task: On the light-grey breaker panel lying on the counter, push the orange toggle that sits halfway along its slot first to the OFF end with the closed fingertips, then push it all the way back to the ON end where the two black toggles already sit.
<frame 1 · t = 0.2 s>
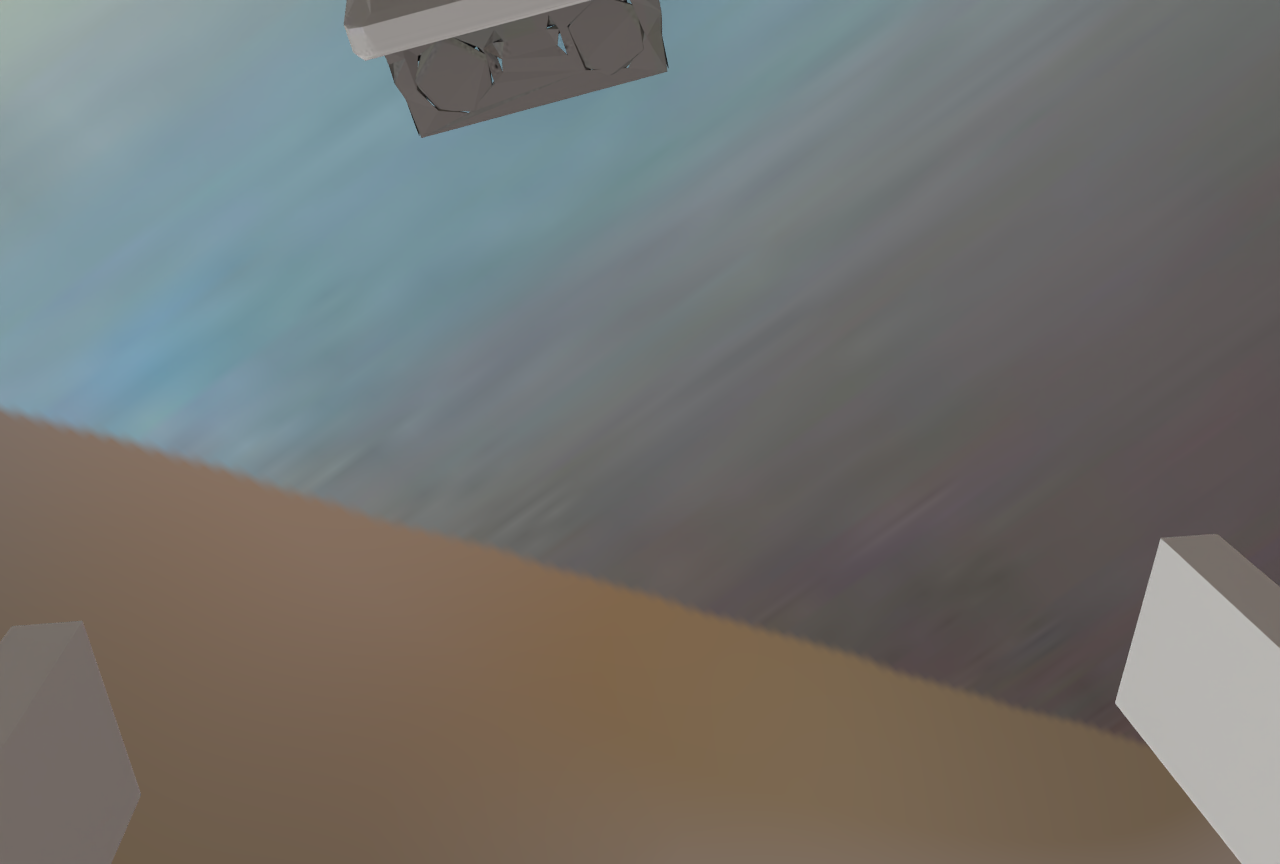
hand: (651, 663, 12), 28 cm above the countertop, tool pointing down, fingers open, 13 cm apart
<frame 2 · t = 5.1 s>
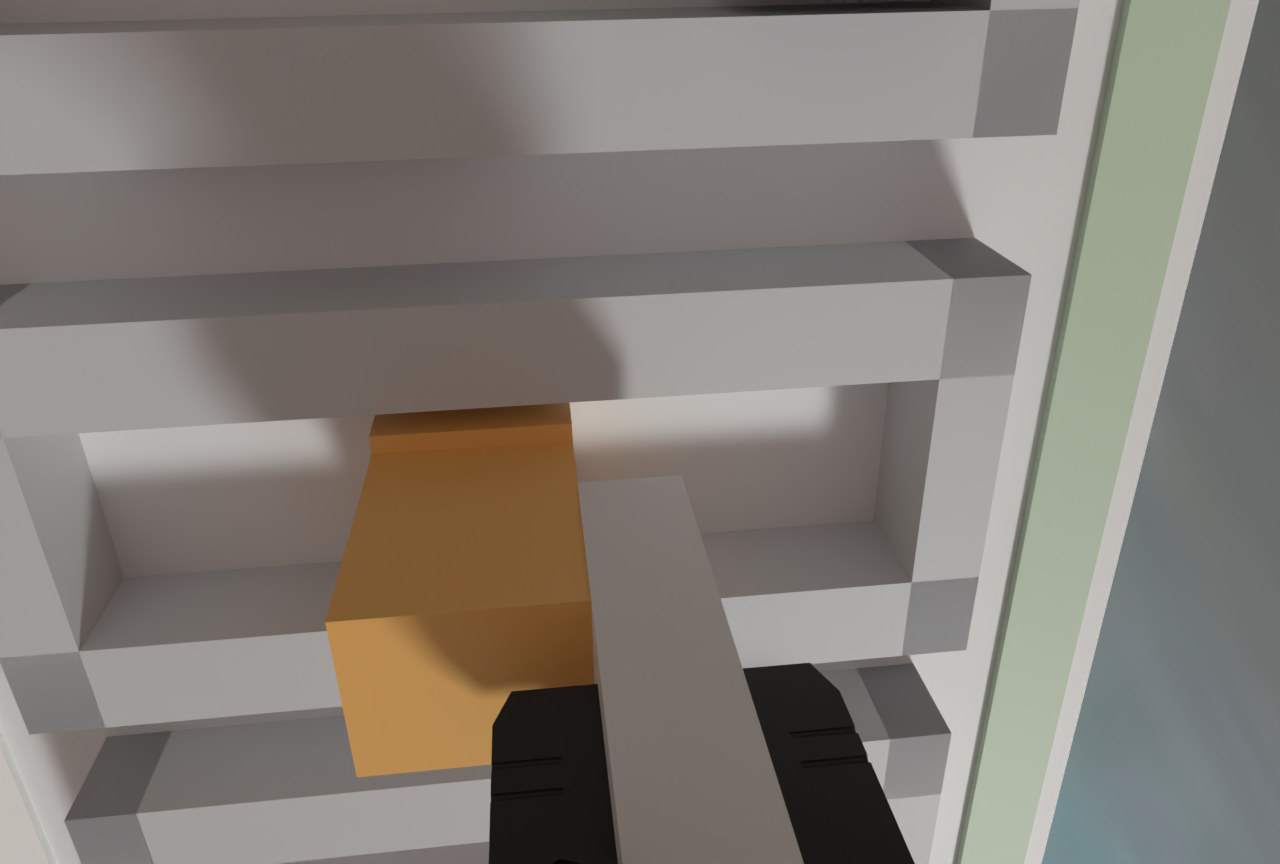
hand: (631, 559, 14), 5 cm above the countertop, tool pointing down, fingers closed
panel: (504, 418, 18), on the countertop
breaker tripped: (477, 555, 14), point 4 cm above the countertop, slide at 4.6 cm, touching gripper
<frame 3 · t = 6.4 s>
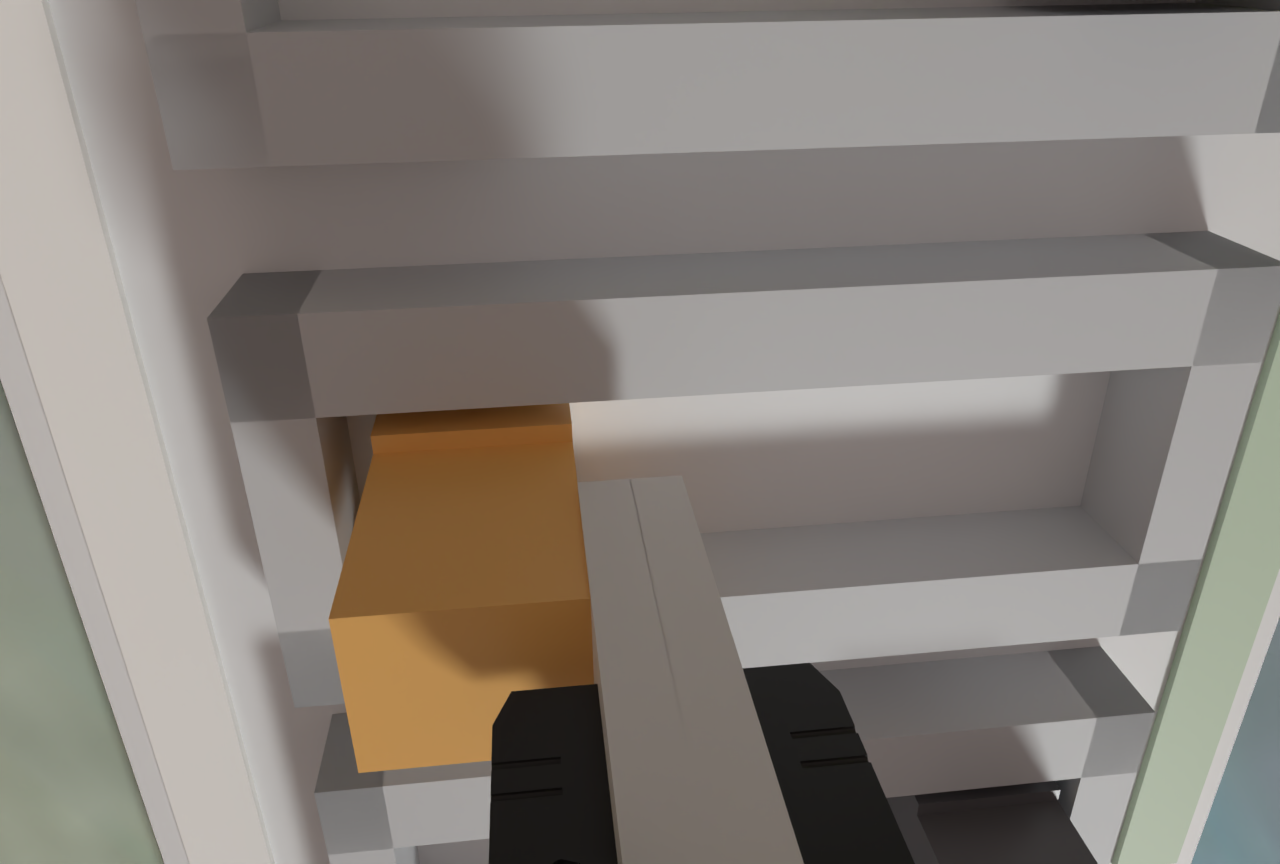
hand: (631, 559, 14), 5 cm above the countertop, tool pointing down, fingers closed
panel: (725, 405, 19), on the countertop
breaker tripped: (478, 554, 14), point 4 cm above the countertop, slide at 0.4 cm, touching gripper
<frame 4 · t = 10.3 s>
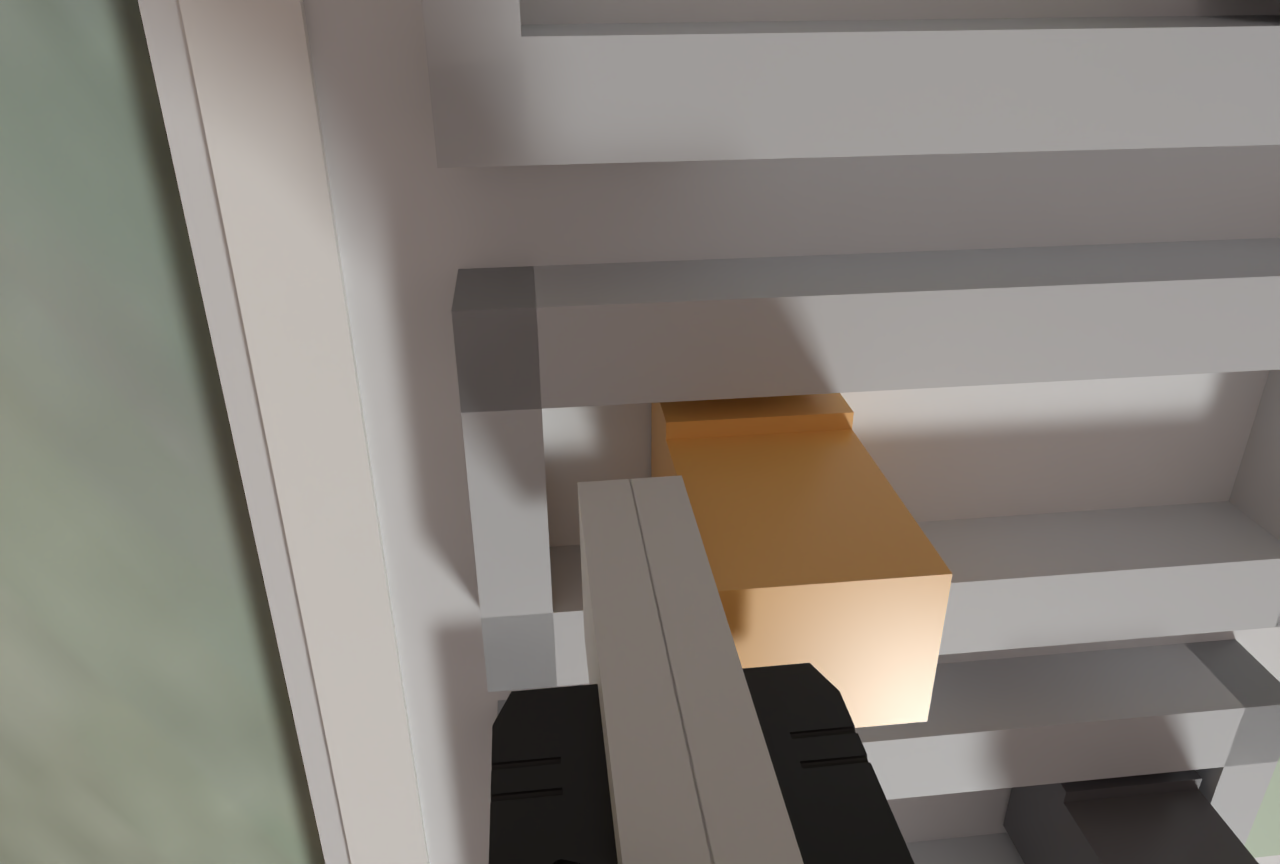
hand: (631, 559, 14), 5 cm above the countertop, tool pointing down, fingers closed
panel: (885, 401, 19), on the countertop
breaker tripped: (772, 536, 15), point 5 cm above the countertop, slide at 1.6 cm, touching gripper
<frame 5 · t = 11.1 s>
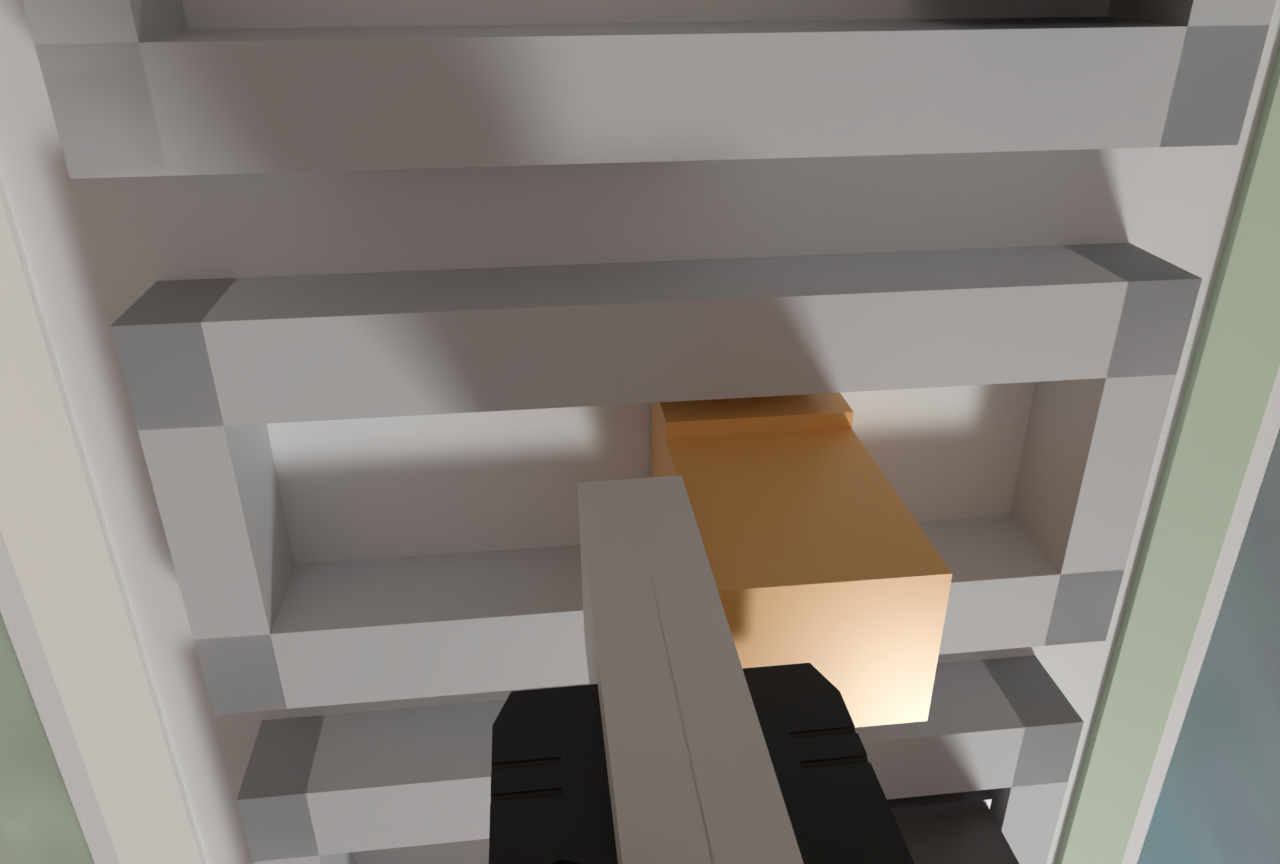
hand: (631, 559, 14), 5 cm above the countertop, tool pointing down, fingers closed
panel: (655, 413, 19), on the countertop
breaker tripped: (772, 536, 15), point 4 cm above the countertop, slide at 6.2 cm, touching gripper
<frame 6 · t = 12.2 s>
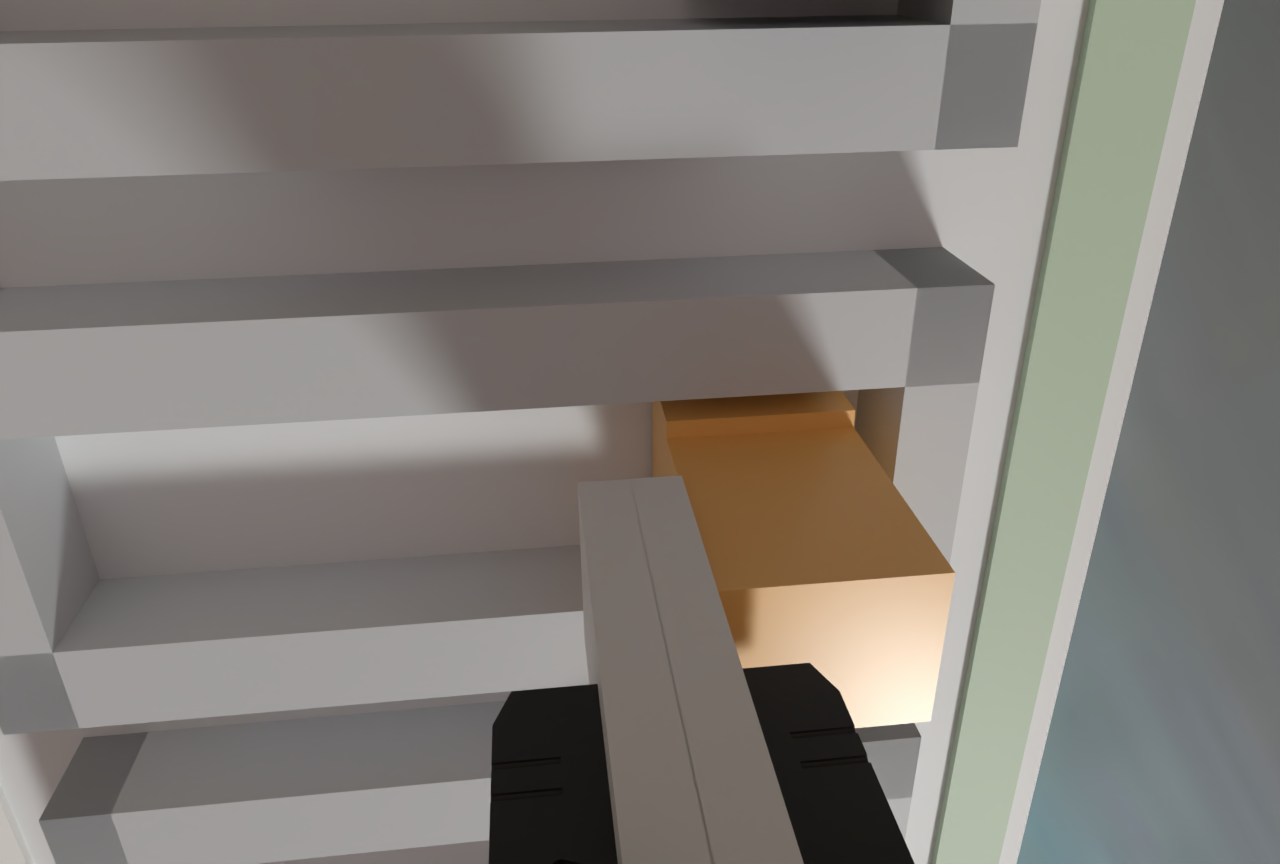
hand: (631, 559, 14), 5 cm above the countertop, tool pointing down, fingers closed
panel: (480, 423, 18), on the countertop
breaker tripped: (773, 535, 15), point 4 cm above the countertop, slide at 9.6 cm, touching gripper
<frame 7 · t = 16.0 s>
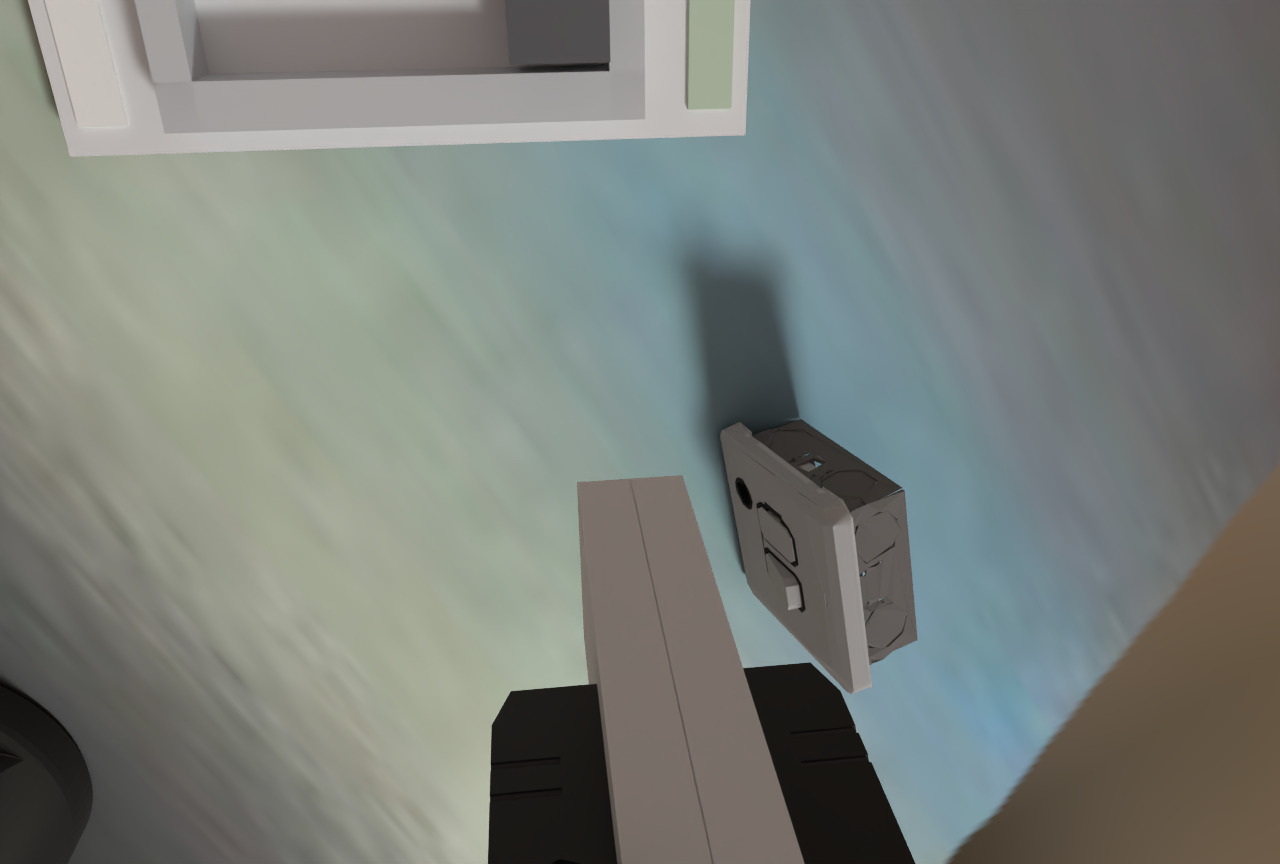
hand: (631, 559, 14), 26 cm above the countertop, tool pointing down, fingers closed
breaker 1: (554, 13, 31), point 4 cm above the countertop, slide at 10.0 cm
electrical switch: (786, 487, 46), on the countertop
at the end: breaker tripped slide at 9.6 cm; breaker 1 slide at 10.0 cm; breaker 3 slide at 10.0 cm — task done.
